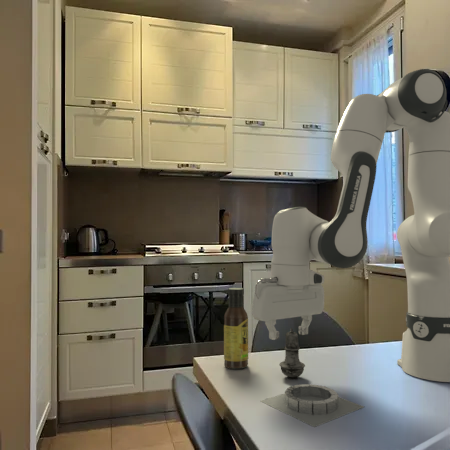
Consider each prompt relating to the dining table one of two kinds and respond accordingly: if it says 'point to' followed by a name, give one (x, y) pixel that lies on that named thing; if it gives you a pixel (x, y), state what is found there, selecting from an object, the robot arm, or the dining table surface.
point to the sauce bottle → (235, 331)
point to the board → (312, 420)
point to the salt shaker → (292, 357)
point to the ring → (311, 406)
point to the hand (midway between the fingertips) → (289, 336)
